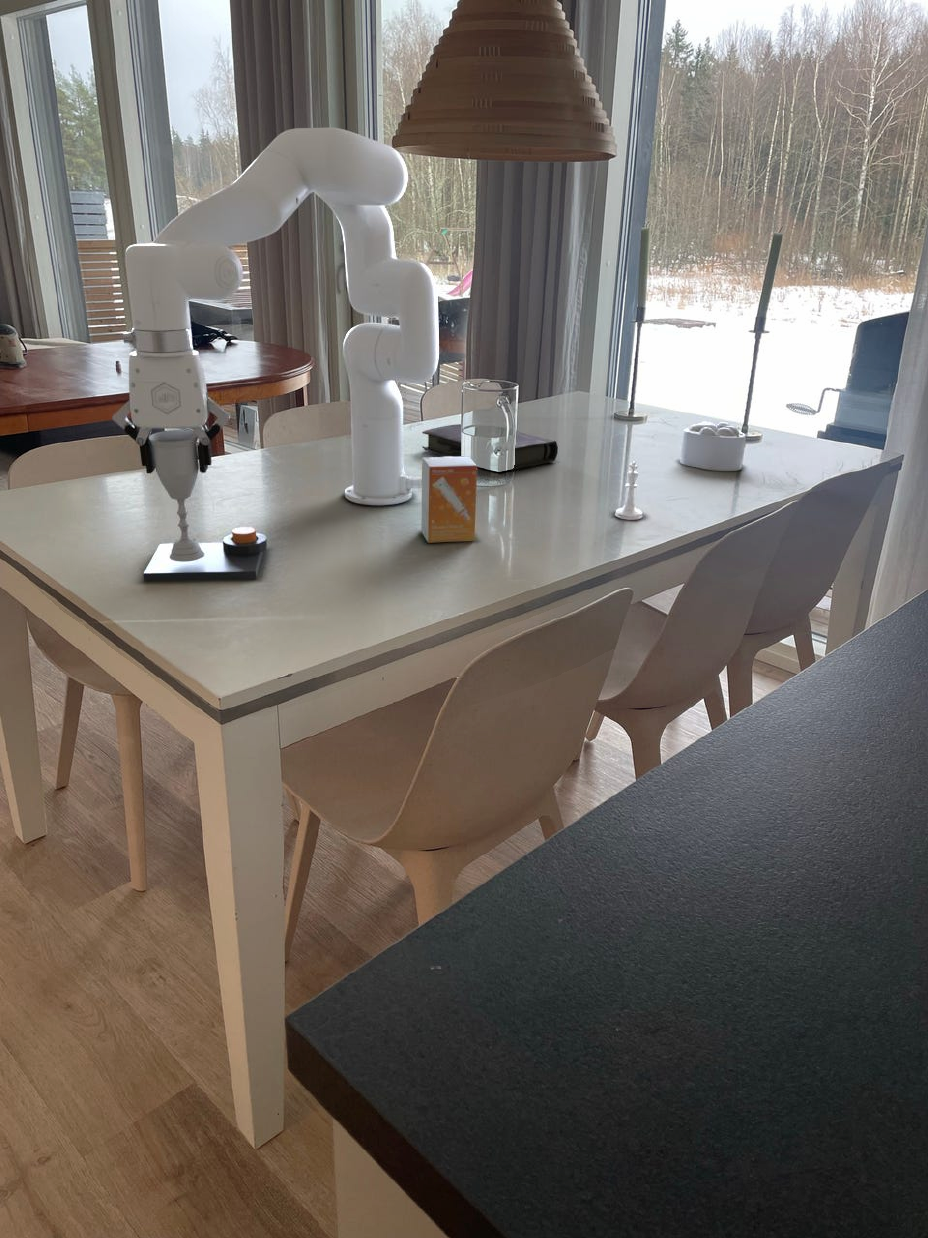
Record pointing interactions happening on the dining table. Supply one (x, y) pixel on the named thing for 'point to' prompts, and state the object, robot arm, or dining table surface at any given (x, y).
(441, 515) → the small box
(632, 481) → the chess piece
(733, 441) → the lumpy-topped squat cylinder
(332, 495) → the dining table surface
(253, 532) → the power button
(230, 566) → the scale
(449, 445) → the diary
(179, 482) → the chalice
